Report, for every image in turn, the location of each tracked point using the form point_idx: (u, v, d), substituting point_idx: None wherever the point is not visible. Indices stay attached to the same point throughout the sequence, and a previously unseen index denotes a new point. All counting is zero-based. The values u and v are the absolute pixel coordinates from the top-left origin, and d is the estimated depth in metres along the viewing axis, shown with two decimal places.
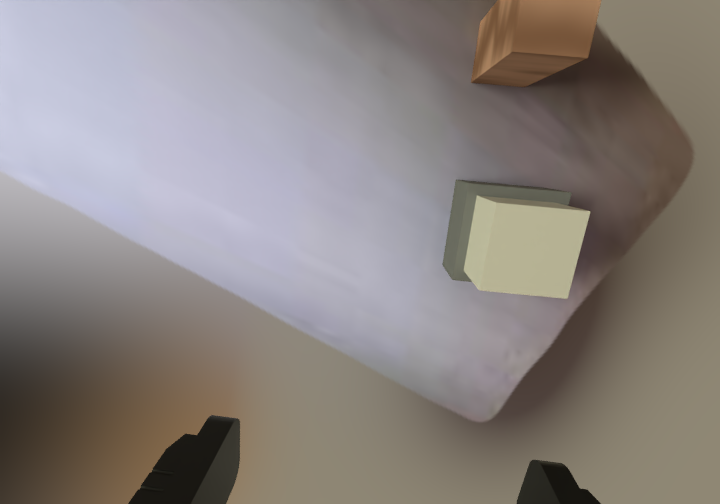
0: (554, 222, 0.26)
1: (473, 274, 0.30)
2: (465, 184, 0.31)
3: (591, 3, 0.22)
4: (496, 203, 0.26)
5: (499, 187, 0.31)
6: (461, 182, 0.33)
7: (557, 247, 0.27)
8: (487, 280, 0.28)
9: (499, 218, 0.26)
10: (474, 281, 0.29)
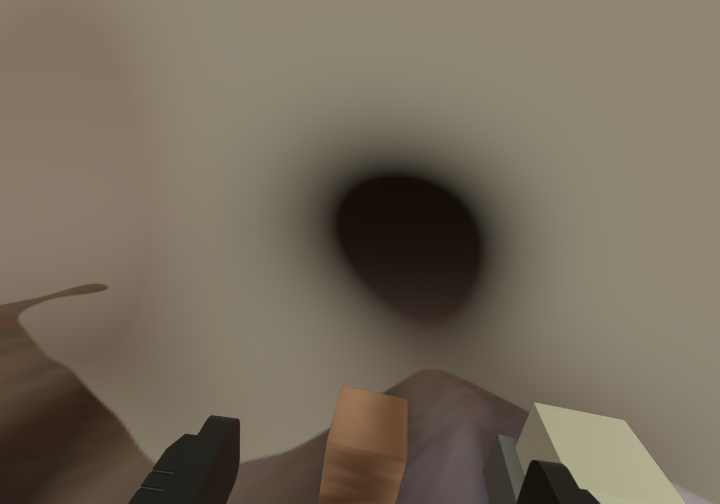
0: (559, 429, 0.26)
1: None
2: None
3: (365, 396, 0.26)
4: None
5: None
6: None
7: (581, 427, 0.26)
8: (670, 501, 0.21)
9: (588, 483, 0.22)
10: None
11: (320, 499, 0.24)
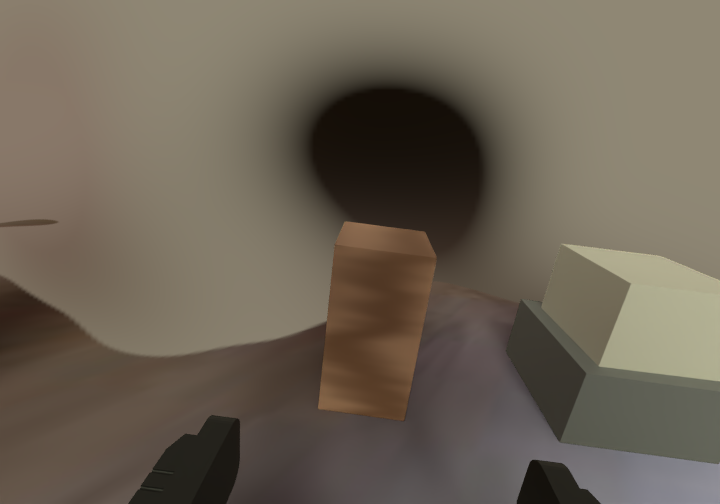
0: (597, 256, 0.22)
1: None
2: (584, 388, 0.19)
3: (374, 227, 0.21)
4: (631, 283, 0.18)
5: (563, 344, 0.21)
6: (573, 410, 0.19)
7: (619, 257, 0.23)
8: None
9: (647, 282, 0.18)
10: None
11: (327, 339, 0.19)
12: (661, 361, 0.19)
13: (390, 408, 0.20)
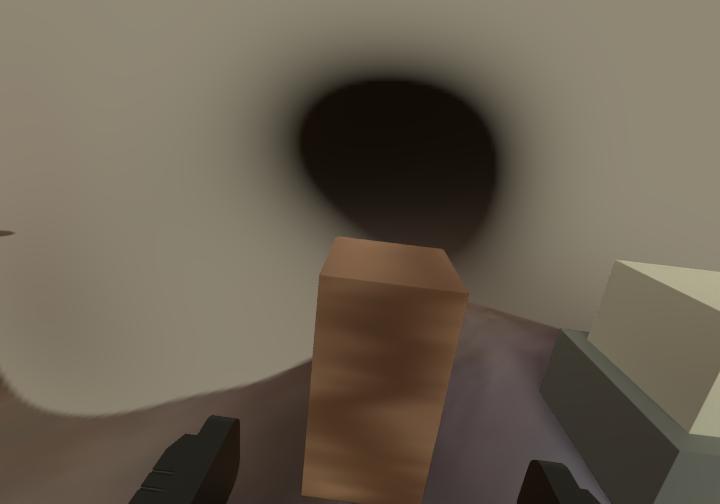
0: (670, 278, 0.17)
1: None
2: (675, 470, 0.13)
3: (376, 244, 0.16)
4: None
5: (632, 399, 0.16)
6: (658, 499, 0.14)
7: (696, 278, 0.17)
8: None
9: None
10: None
11: (312, 405, 0.13)
12: None
13: (400, 495, 0.14)
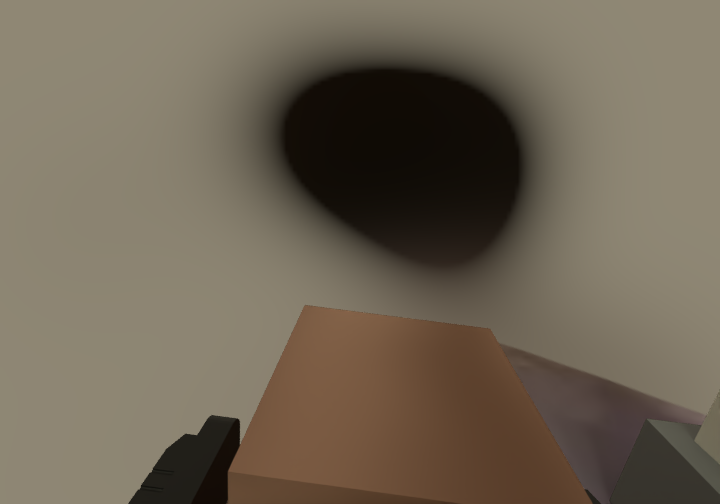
0: None
1: None
2: None
3: (373, 324, 0.09)
4: None
5: None
6: None
7: None
8: None
9: None
10: None
11: None
12: None
13: None
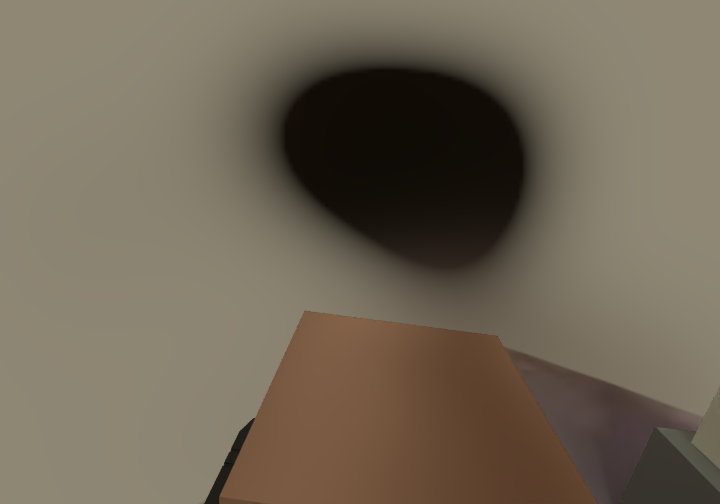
0: None
1: None
2: None
3: (376, 332, 0.08)
4: None
5: None
6: None
7: None
8: None
9: None
10: None
11: None
12: None
13: None
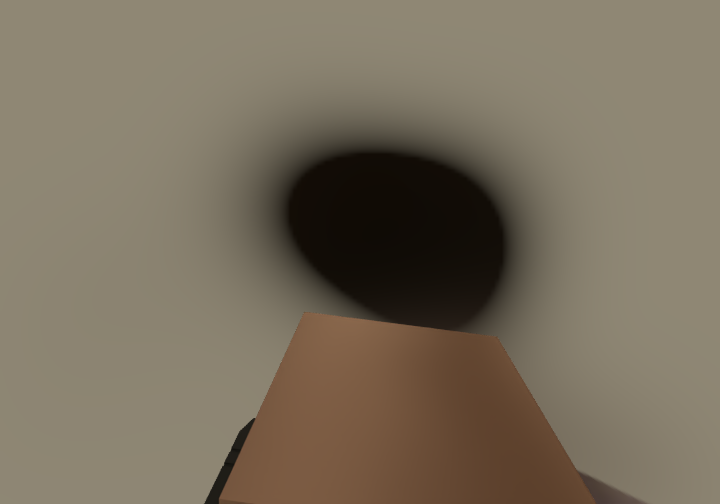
0: None
1: None
2: None
3: (376, 333, 0.08)
4: None
5: None
6: None
7: None
8: None
9: None
10: None
11: None
12: None
13: None
